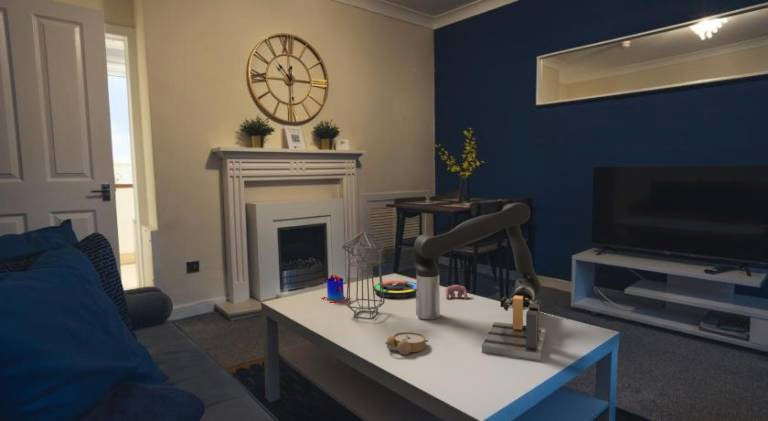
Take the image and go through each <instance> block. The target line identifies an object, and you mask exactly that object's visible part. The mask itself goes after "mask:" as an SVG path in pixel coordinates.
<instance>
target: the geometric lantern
mask: <svg viewBox="0 0 768 421" xmlns="http://www.w3.org/2000/svg"><path fill="white" fill-rule="evenodd" d="M363 236H364V237H365V240H366V242H362V238H363ZM375 240H377V241H378V242H377V241H375ZM357 243H358V246H357V247H356V245H357ZM386 244H387V245H388V242H386V241H384V240H382V239H381V238H378V237H376V236H374V235H373V234H370V233H369V232H367V231H361V232H360V233H358V234H357V235H355V236H354V237H352V238H351V239H349V240H347V241H346V242H344V243H343V244H342V245H340V247H341V248H342V249H343V250H344V251H345V252H347V254H348V255H347V256H348V257H347V258H348V260H347V261H348V263H347V281H346V282H347V283H346V285H347V286H346V287H347V288H346V298H347V300H346V301H345V302H346V305H345V306H346V307H347V308H348V309H350V310H351V311H352V312H353V318H362V319H369V320H370V319H374V318H375V317H376V316H377V315H378V314H379V308H381V307H382V306H383V305H384V304H385V303H386V302H385V297H384V292H383V282H384V281H383V276H382V265H381V263H382V252H383V250H384V247H385V246H386ZM365 245H368V246H365ZM361 246H362V247H361ZM349 249H350V250H349ZM354 249H357V252H358V253H354ZM379 249H380V250H379ZM360 250H363V251H362V252H360ZM369 251H371V252H372V253H374V255H373V257H372V260H365V258H366V257H367V254H368V252H369ZM364 253H365V254H364ZM350 254H351V257H350ZM362 254H364V255H363V256H362ZM377 255H379V259H378V257H377ZM356 256H360V258H361V260H359V259H357V257H356ZM353 257H354V258H355V261H353V262H351V261H352V258H353ZM374 259H376V260H374ZM363 262H364V263H365V265H363V264H364V263H363ZM367 262H369V263H370V264H369V265H368V263H367ZM355 263H357V264H355ZM359 263H361V265H359ZM372 263H375V264H373V265H372ZM377 265H378V275H379V276H378V277H379V283H380V295H379V296H380V299H376V294H375V291H374V286H375V283H374V275H373V274H374V273H373V267H375V266H377ZM351 267H356V297H355V300H353V301H352V302H351V300H350V298H351ZM359 267H361V298H358V297H359V296H358V292H359ZM364 268H366V283H367V284H366V285H367V286H366V287H367V298H364V272H363V271H364V270H363V269H364ZM369 268H370V272H371V284H372V296H373V299H370V287H369V285H370V284H369ZM381 285H382V294H383V296H382V294H381ZM348 297H349V300H348ZM359 301H361V304H360V302H359ZM363 301H367V306H365V307H364V305H363V304H364V302H363ZM370 301H372V302H373V306H370ZM355 302H357V305H358V306H351V305H352V304H354V303H355ZM376 302H379V303H378V304H377V305H376ZM354 309H355V310H354ZM357 310H359V311H357ZM359 313H360V314H369V317H367V316H366V317H365V316H357V315H359ZM374 313H375V314H374Z"/></svg>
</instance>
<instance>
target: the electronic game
mask: <svg viewBox="0 0 768 421" xmlns="http://www.w3.org/2000/svg"><path fill="white" fill-rule="evenodd" d="M382 282H383V292H384V298H390V299H400V298H401V299H402V298H410V297H412V296H414V295H415V296H416V292H417V282H412V281H407V280H391V281H382ZM374 293H376V294H377V295H379V296H380V282H379V283H377V284H374ZM381 294H382V285H381ZM382 297H383V294H382Z"/></svg>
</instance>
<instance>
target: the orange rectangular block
mask: <svg viewBox="0 0 768 421" xmlns="http://www.w3.org/2000/svg"><path fill="white" fill-rule="evenodd" d="M513 295H514V294H513ZM512 297H513V296H512ZM512 324H513V329H518V330H522V328H523V325H524V310H523V296H516V295H514V297H513V308H512Z"/></svg>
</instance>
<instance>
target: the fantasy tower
mask: <svg viewBox="0 0 768 421" xmlns="http://www.w3.org/2000/svg"><path fill="white" fill-rule="evenodd" d="M326 294H327V297H326V296H322V297H321V298H320V299H323V300H322V301H326V300H327V301H326V302H328V301H329V302H328V304H329V303H335V304H336V303H339V301H341V302H344V301H343V300H345V301H347V296H345V295H344V278H343V277H339V276H338V275H337V274H331V275H330V277H329V278H327V279H326ZM325 298H326V299H325ZM345 298H346V299H345ZM324 299H325V300H324ZM350 299H351V300H352V298H351V297H350ZM348 301H349V296H348Z"/></svg>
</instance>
